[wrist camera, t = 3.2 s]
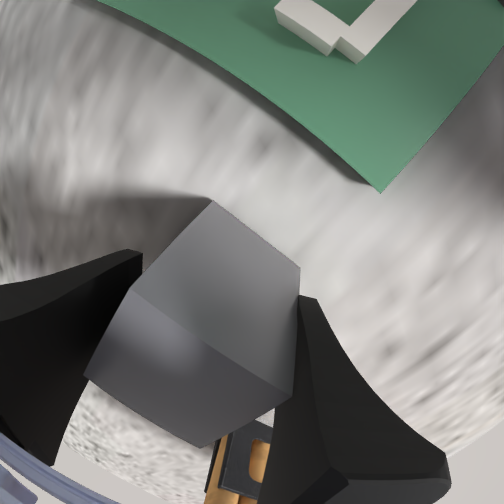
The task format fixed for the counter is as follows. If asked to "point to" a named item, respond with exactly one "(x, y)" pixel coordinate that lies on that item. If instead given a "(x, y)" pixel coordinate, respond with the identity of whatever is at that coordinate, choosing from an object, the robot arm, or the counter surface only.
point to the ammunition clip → (238, 465)
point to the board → (345, 63)
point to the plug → (204, 332)
